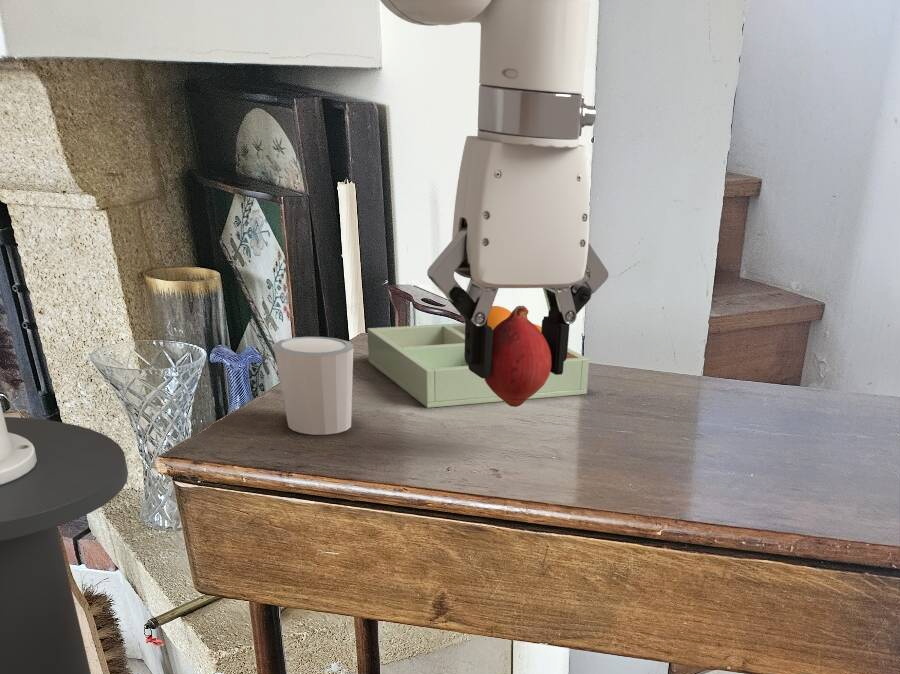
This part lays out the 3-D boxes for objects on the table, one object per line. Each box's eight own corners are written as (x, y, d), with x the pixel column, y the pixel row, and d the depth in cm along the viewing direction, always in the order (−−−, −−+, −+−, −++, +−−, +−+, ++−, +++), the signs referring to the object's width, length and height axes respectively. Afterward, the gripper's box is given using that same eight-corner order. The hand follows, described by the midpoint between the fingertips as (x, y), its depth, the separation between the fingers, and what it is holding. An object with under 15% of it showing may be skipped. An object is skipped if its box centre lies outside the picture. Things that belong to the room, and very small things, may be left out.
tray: (427, 408, 100) (426, 370, 98) (368, 362, 112) (367, 328, 110) (586, 394, 107) (589, 359, 105) (514, 352, 120) (515, 320, 118)
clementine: (481, 368, 111) (482, 313, 108) (461, 355, 115) (461, 301, 112) (528, 365, 113) (530, 310, 110) (507, 352, 117) (508, 299, 114)
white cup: (272, 434, 91) (263, 351, 87) (291, 411, 96) (284, 332, 92) (350, 439, 91) (345, 356, 87) (365, 416, 96) (360, 337, 93)
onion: (517, 421, 84) (523, 317, 80) (464, 404, 87) (467, 303, 82) (560, 408, 88) (568, 309, 84) (508, 393, 91) (513, 295, 86)
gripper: (606, 122, 82) (584, 357, 92) (400, 107, 75) (401, 364, 85) (655, 131, 77) (627, 379, 87) (438, 116, 69) (435, 390, 80)
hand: (515, 370), depth 86 cm, fingers closed on onion, 5 cm apart
